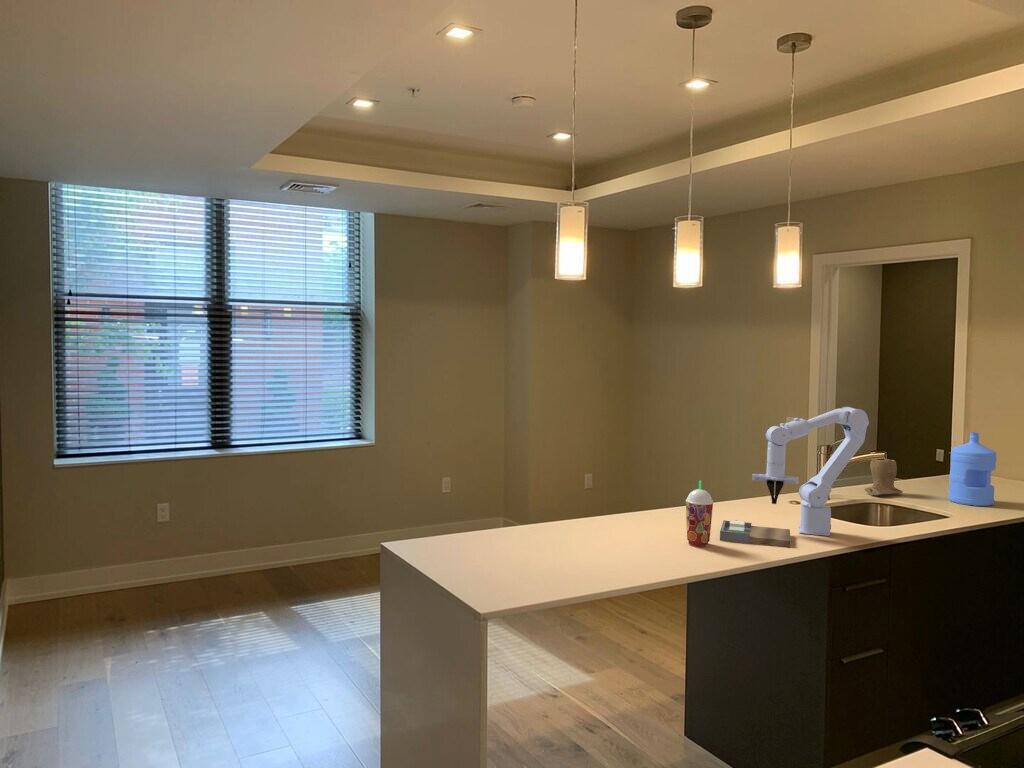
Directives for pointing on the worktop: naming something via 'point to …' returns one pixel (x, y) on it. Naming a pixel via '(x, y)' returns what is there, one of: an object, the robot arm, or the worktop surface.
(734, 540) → the slate tray
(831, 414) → the robot arm
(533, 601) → the worktop surface
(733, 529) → the sage tile
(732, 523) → the cream tile
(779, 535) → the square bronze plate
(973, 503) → the water jug
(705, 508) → the smoothie
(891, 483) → the stone cup
